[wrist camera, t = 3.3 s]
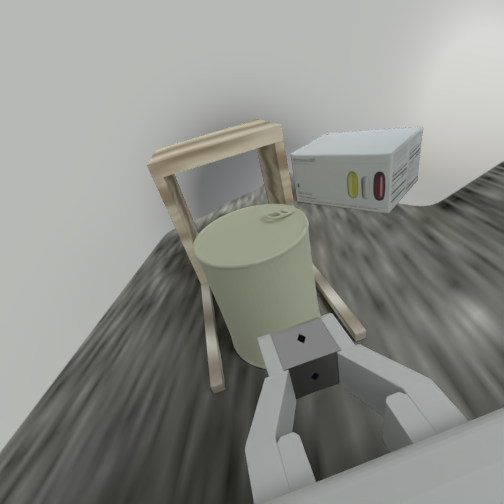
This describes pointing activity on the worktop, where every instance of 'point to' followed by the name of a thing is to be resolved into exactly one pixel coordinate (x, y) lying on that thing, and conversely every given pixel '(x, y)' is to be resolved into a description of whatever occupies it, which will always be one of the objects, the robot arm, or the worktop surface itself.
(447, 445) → the robot arm
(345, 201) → the supplement box
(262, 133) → the tunnel
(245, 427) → the worktop surface
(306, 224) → the can
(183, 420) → the worktop surface
